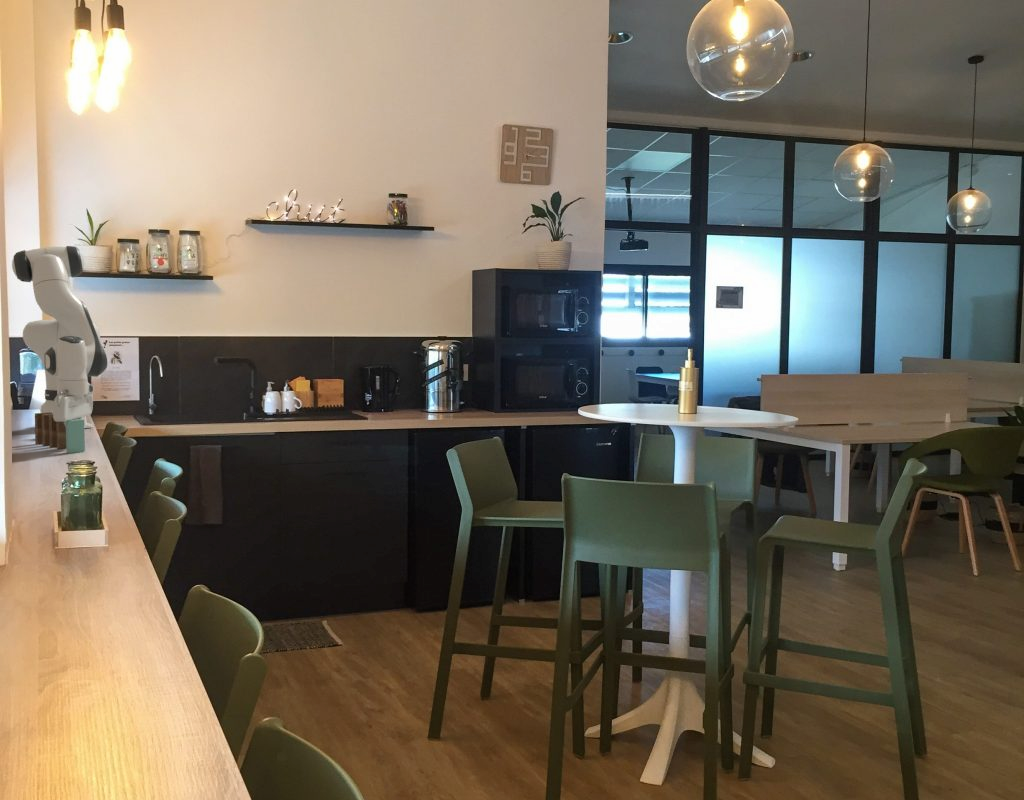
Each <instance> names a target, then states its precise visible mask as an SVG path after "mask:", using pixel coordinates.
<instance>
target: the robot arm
mask: <svg viewBox="0 0 1024 800" xmlns="http://www.w3.org/2000/svg"><path fill="white" fill-rule="evenodd" d="M11 261H12V262H11V269H12V272H13V273H14V275H15V277H16V279H17V280H19V281H20V282H23V283H31V282H32V287H33V288H32V289H33V294H34V298H35V302H36V304H37V305H38V307H39V308H40V310H41V311H42V312H43V313H44V314H45V315H46V316H49V317H51V318H53V319H38V320H33V321H29V322H27V324H25V326H24V328H23V330H22V339H23V342H24V344H25V346H26V347H27V348H29V349H30V350H31V351H33V352H34V353H35V354H36V355H37V356H38V358H39V359H40V361H41V362H42V365H43V368H44V373H45V376H44V377H45V388H46V389H44V399H45V401H44V403H43V404H42V405H40V411H39V413H47V412H51V413H52V411H53V419H54V421H58V422H64V425H65V427H66V421H69V420H73V419H74V420H79V419H83V420H84V429H90V428H93V424H91V423H89V422H87V417H88V416H90V415H92V412H93V408H94V407H93V405H94V396H93V395H94V394H93V393H94V391H95V385H93V384H91V383H89V381H88V377H93V378H95V377H99V376H101V374H103V373H104V372H105V371H106V370H107V367H108V358H107V357H108V356H107V354H106V351H105V349H104V347H103V346H102V343H101V341H100V340H101V332H100V329H99V327H98V326H97V325H96V324H95V323H94V322H93V320H92V318H91V315H90V313H89V310H88V308H87V305H86V304H85V303H84V302H83V301H81V300H80V299H79V298H77V296H76V295H75V293H74V292H73V289H72V286H71V283H70V278H76V277H78V276H80V275H81V274H83V272H84V268H85V258H84V255H83V254H82V252H81V250H80V248H78V247H77V246H73V245H72V246H71V245H66V246H46V247H42V248H41V247H40V248H34V249H29V250H25V249H24V250H19V251H17V252H15V254H14V255H13V258H12V260H11ZM82 417H83V418H82Z"/></svg>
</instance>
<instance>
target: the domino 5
mask: <svg viewBox="0 0 1024 800" xmlns="http://www.w3.org/2000/svg"><path fill="white" fill-rule="evenodd" d="M85 436H86V435H85V428H84V420H83V419H79V420H69V421H66V453H67V454H74V453H85V452H86V446H85V445H86V444H85V439H86V438H85ZM84 451H85V452H84Z"/></svg>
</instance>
